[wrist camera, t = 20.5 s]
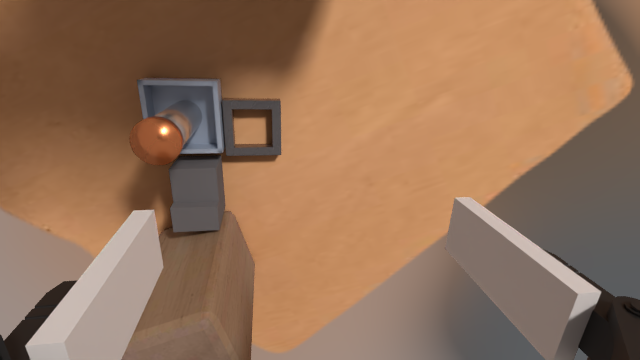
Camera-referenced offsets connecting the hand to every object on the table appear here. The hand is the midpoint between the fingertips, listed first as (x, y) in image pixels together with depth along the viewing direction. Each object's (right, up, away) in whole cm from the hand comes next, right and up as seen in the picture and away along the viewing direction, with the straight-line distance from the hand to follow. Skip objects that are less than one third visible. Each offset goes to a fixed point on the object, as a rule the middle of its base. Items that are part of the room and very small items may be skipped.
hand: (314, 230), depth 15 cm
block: (-15, -7, +32) cm, 36 cm away
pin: (-15, +10, +24) cm, 30 cm away
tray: (-15, +10, +25) cm, 31 cm away
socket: (-8, +9, +26) cm, 29 cm away
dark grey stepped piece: (-15, +2, +28) cm, 32 cm away
